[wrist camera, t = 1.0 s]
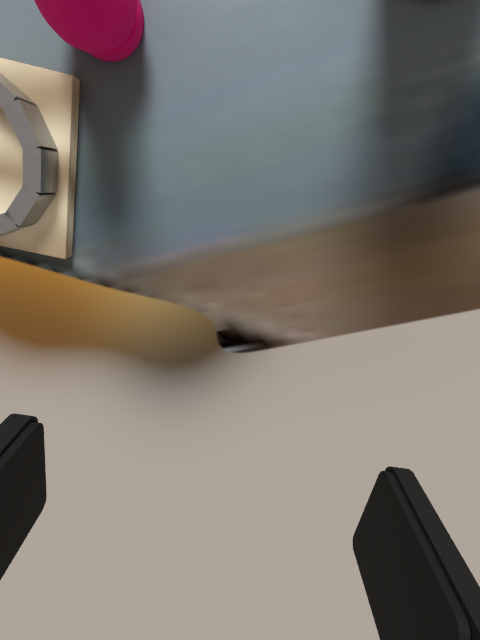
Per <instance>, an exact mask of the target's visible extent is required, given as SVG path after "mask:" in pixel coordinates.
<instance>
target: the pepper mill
mask: <svg viewBox="0 0 480 640" xmlns="http://www.w3.org/2000/svg"><path fill="white" fill-rule="evenodd" d="M35 2H36V4H37V6H38V8H39V10H40V12H41V14H42V15H43V17H44V18H45V20H46V21H47V23H48V24H49V25H50V26H51V27H52V28H53V29H54V31H55V32H56V33H57V34H58V35H59V36H60V37H61V38H62V39H63V40H64V41H66V42H67V43H68V44H70V45H71V46H73V47H75V48H77V49H79V50H82V51H85V52H88V53H89V54H91V55H92V56H94V57H96V58H98V59H100V60H103V61H109V62H115V61H120V60H122V59H125V58H126V57H128V56H129V55H131V54H132V53H133V52H134V50H135V49H136V48H137V46H138V44H139V42H140V40H141V37H142V34H143V27H144V15H143V9H142V5H141V2H140V0H35Z"/></svg>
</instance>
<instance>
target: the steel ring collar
mask: <svg viewBox="0 0 480 640" xmlns="http://www.w3.org/2000/svg"><path fill="white" fill-rule="evenodd" d="M0 107H1V108H2V109H3V110H4V111H5V114H6V116H7V118H8V120H9V122H10V124H11V126H12V128H13V130H14V132H15V134H16V136H17V138H18V140H19V142H20V144H21V146H22V148H23V186H22V188H21V189H20V191H19V192H18V194H17V195H16V197H15V198H14V200H13V202H12V203H11V205H10V206H9V208H8V209H7V211H6V212H5V213H2V214H0V236H4V235H7V234H10V233H13V232H16V231H18V230H21V229H24V228H27V227H30V226H32V225H35V223H38V221H39V220H40V218H41V217H42V215H43V214H44V212H45V211H46V209H47V208H48V206H49V205H50V203H51V202H52V200H53V199H54V198H55V196H56V194H55V193H54V192H57V182H58V152H55V151H54V150H57V147H56V144H55V142H54V140H53V138H52V136H51V133H50V131H49V129H48V127H47V125H46V123H45V120H44V118H43V116H42V114H41V112H40V109H39V107H37V106H36V103H34V102H33V101H32V100H31V99H30V98H29V97H28V96H26V95H25V94H24V93H23V92H22V91H21V90H20V89H18V88H17V87H16V86H15V85H14V84H13V83H12V82H10V81H9V80H8V79H7V78H6V77H5V76H4V75H2V74H1V73H0Z"/></svg>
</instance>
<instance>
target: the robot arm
mask: <svg viewBox="0 0 480 640" xmlns="http://www.w3.org/2000/svg"><path fill="white" fill-rule="evenodd" d="M45 502H46V474H45V450H44V428H43V425H42V423H38V419H37V418H36V417H34V416H27V415H20V414H11V415H9V416H8V417H7V418H6V419H5V420H4V421H3V422H2V423H1V424H0V580H1V578H2V576H3V575H4V573H5V571H6V570H7V568H8V566H9V565H10V563H11V561H12V560H13V558H14V557H15V555H16V553H17V552H18V550H19V548H20V547H21V545H22V543H23V542H24V540H25V538H26V537H27V535H28V533H29V532H30V530H31V528H32V526H33V525H34V523H35V522H36V520H37V518H38V517H39V515H40V513H41V512H42V510H43V507H44V505H45ZM353 550H354V553H355V556H356V560H357V563H358V567H359V570H360V573H361V577H362V580H363V583H364V586H365V590H366V593H367V596H368V600H369V604H370V607H371V610H372V614H373V617H374V620H375V624H376V627H377V630H378V634H379V637H380V640H480V587H479V586H478V584H477V582H476V580H475V579H474V577H473V575H472V573H471V572H470V570H469V568H468V566H467V565H466V563H465V561H464V559H463V558H462V556H461V554H460V553H459V551H458V549H457V548H456V546H455V544H454V542H453V541H452V539H451V537H450V535H449V534H448V532H447V530H446V529H445V527H444V525H443V523H442V522H441V520H440V518H439V516H438V515H437V513H436V511H435V510H434V508H433V506H432V504H431V503H430V501H429V499H428V497H427V496H426V494H425V492H424V491H423V489H422V487H421V485H420V484H419V482H418V480H417V479H416V477H415V475H414V473H413V472H412V471H411V470H409V469H404V468H397V467H387V468H386V470H385V471H381V472H380V474H379V475H378V478H377V480H376V483H375V485H374V488H373V490H372V492H371V495H370V497H369V500H368V502H367V504H366V507H365V509H364V512H363V514H362V516H361V519H360V521H359V524H358V526H357V529H356V531H355V533H354V536H353Z"/></svg>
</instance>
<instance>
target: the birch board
mask: <svg viewBox="0 0 480 640" xmlns="http://www.w3.org/2000/svg"><path fill="white" fill-rule="evenodd" d="M0 73H1V74H2V75H4V76H5V77H6V78H7V79H8V80H9V81H10V82H12V83H13V84H14V85H15V86H16V87H17V88H18V89H20V90H21V91H22V92H23V93H24V94H25V95H26V96H28V97H29V98H30V99H31V100H32V101H33V102H34V103H36V106H37V107H39V109H40V112H41V114H42V116H43V118H44V120H45V123H46V125H47V127H48V129H49V131H50V133H51V136H52V138H53V140H54V142H55V144H56V147H57V150H54V151H55V152H58V182H57V192H54V193H55V194H56V196H55V198H54V199H53V200H52V202H51V203H50V205H49V206H48V208H47V209H46V211H45V212H44V214H43V215H42V217H41V218H40V220H39V221H38V223H35V225H32V226H30V227H27V228H24V229H21V230H18V231H16V232H13V233H10V234H7V235H4V236H0V246H4V247H9V248H14V249H19V250H24V251H28V252H33V253H38V254H43V255H48V256H53V257H58V258H63V259H67V258H69V257H71V256H72V245H73V223H74V201H75V180H76V158H77V136H78V115H79V93H80V80H79V79H77V78H76V77H74V76H73V75H69V74H65V73H60V72H56V71H52V70H48V69H44V68H40V67H36V66H32V65H28V64H24V63H20V62H16V61H12V60H7V59H3V58H0ZM22 186H23V148H22V146H21V144H20V142H19V140H18V138H17V136H16V134H15V132H14V130H13V128H12V126H11V124H10V122H9V120H8V118H7V116H6V114H5V111H4V110H3V109H2V108H1V107H0V214H2V213H5V212H6V211H7V209H8V208H9V206H10V205H11V203H12V202H13V200H14V198H15V197H16V195H17V194H18V192H19V191H20V189H21V188H22Z"/></svg>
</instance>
